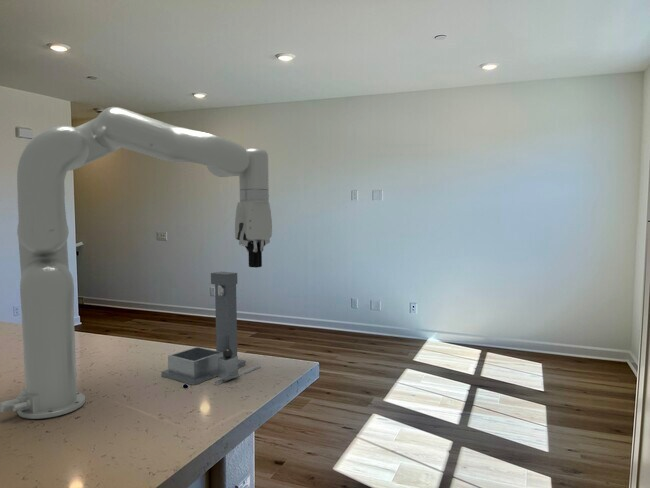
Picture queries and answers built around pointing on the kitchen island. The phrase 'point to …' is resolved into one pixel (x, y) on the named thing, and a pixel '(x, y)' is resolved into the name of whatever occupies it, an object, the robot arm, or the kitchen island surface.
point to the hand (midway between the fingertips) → (255, 266)
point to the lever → (227, 365)
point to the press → (204, 362)
